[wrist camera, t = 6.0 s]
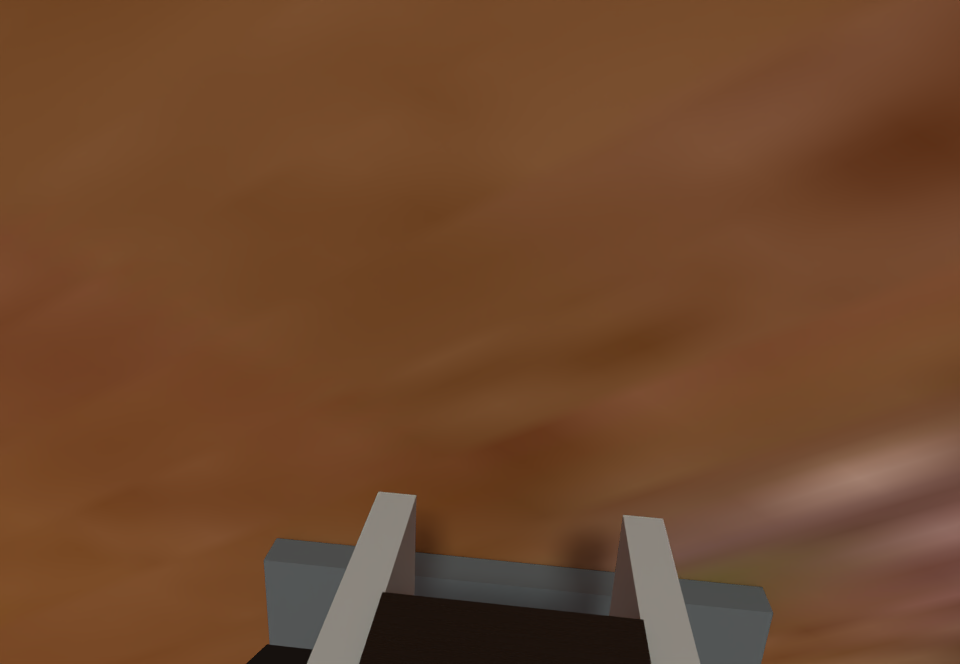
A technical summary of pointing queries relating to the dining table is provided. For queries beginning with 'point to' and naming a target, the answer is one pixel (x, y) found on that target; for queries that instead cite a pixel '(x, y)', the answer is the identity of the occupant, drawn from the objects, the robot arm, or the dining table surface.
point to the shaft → (497, 634)
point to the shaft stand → (505, 596)
